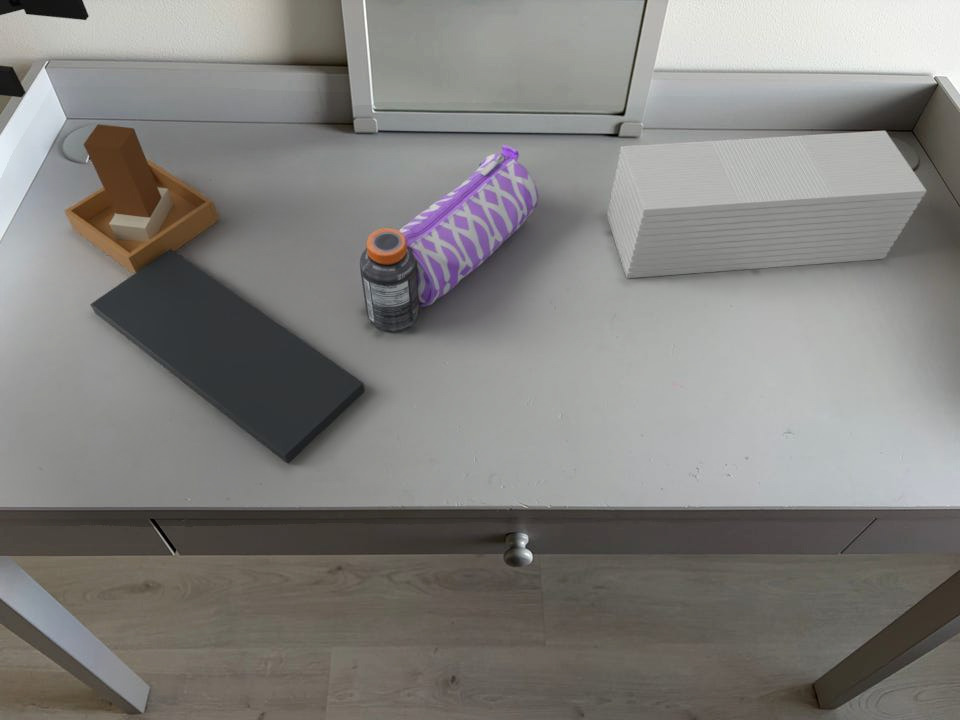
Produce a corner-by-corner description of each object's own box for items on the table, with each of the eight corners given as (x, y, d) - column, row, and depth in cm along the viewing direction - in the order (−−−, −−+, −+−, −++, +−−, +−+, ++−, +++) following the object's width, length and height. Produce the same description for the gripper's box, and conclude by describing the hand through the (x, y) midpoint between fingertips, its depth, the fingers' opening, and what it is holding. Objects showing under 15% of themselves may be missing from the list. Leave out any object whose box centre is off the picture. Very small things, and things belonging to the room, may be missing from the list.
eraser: (151, 243, 92) (114, 158, 82) (116, 239, 93) (74, 154, 83) (174, 203, 96) (141, 118, 86) (140, 200, 97) (103, 114, 87)
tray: (137, 276, 90) (128, 258, 87) (74, 230, 94) (63, 210, 92) (219, 220, 96) (213, 201, 93) (156, 178, 100) (148, 159, 98)
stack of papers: (848, 199, 101) (885, 130, 92) (883, 259, 94) (926, 190, 86) (606, 216, 98) (621, 146, 89) (626, 278, 91) (643, 209, 83)
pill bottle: (387, 286, 90) (380, 212, 81) (430, 308, 88) (427, 234, 79) (355, 319, 87) (344, 245, 78) (399, 342, 85) (392, 269, 76)
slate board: (287, 464, 76) (284, 456, 74) (95, 313, 86) (89, 304, 85) (365, 391, 81) (363, 382, 80) (174, 258, 92) (170, 248, 90)
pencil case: (482, 189, 100) (485, 128, 93) (543, 219, 97) (551, 157, 90) (372, 292, 89) (364, 231, 81) (437, 329, 86) (435, 269, 78)
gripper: (-63, -6, 88) (118, 11, 86) (-210, 130, 73) (5, 154, 71) (-102, -76, 82) (92, -58, 80) (-271, 57, 67) (-37, 81, 65)
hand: (52, 42), depth 76 cm, fingers open, 13 cm apart
